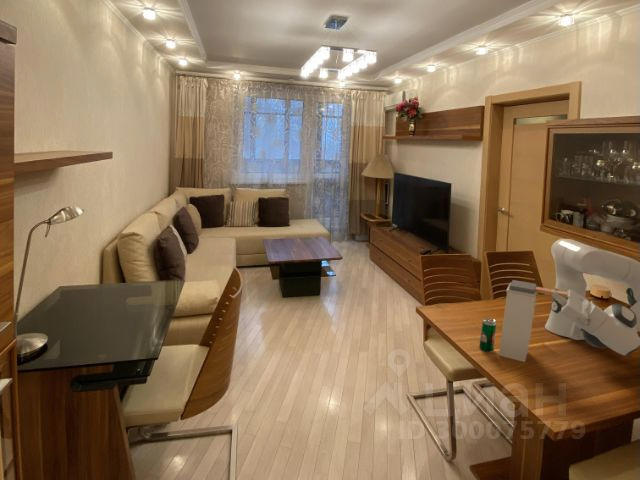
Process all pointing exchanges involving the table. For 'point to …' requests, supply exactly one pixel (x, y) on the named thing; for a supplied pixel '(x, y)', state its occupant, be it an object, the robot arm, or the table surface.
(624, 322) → the robot arm
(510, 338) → the tall grey box
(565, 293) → the toy hammer
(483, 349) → the soda can
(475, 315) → the table surface
